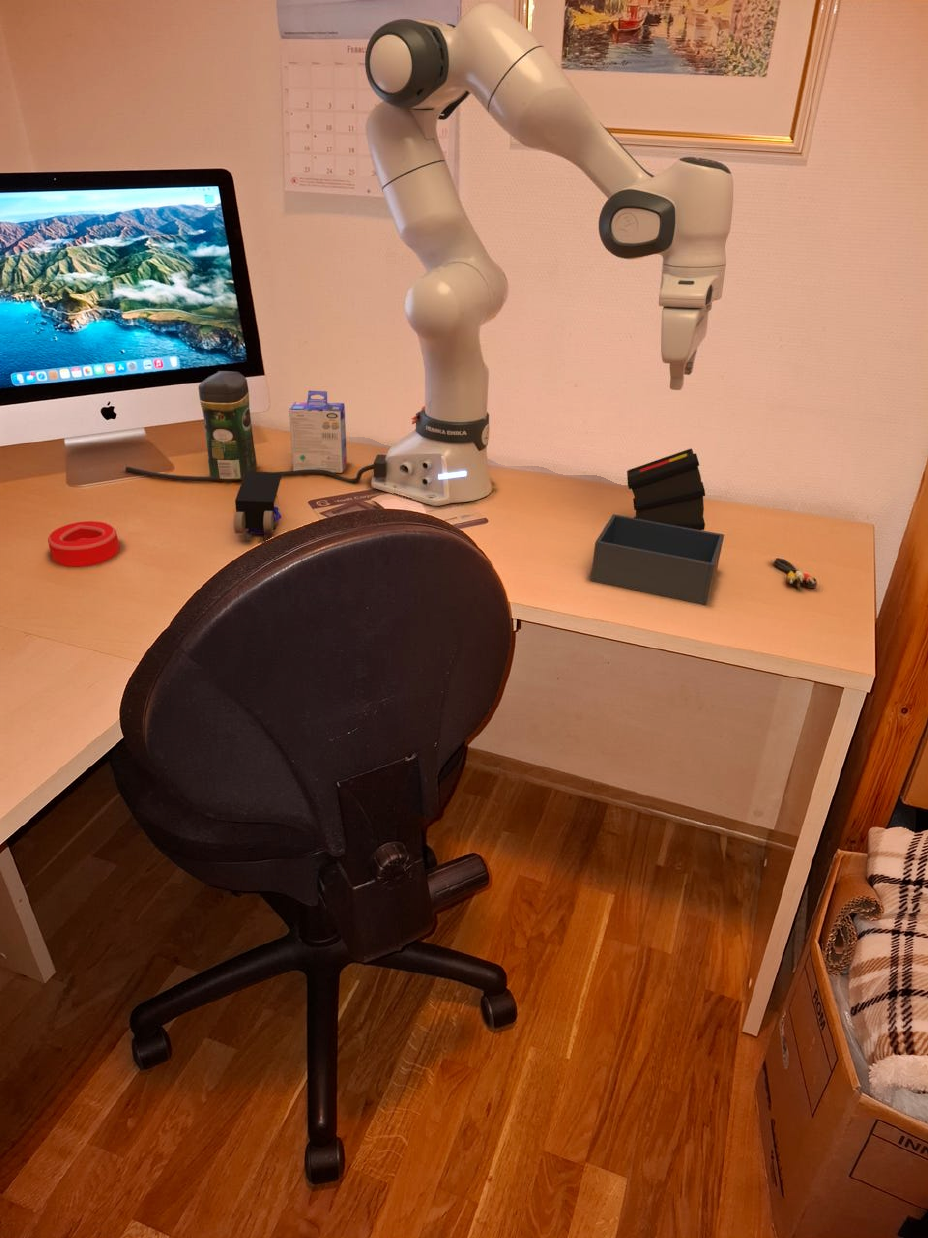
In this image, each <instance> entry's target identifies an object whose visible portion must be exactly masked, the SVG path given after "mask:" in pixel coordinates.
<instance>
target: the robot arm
mask: <svg viewBox="0 0 928 1238" xmlns="http://www.w3.org/2000/svg"><path fill="white" fill-rule="evenodd" d="M364 67H365V75H366V78H367V81H368V83H369V85H370V87H371V89H372V90H373V92H374V93H375V94H376V96H378V98H379V99H381V102H379V103H378V104H377V105H376V106H375V107H374V108H372V110H371V111H370V113H369V114H368V116H367V118H366V122H365V135H366V140H367V145H368V149H369V153H370V157H371V162H372V165H373V168H374V171H375V175H376V178H377V181H378V183H379V187H380V190H381V192H382V194H383V197H384V200H385V202H386V204H387V208H388V210H389V212H390V216H391V217H392V220H393V223H394V225H395V228H396V230H397V231H396V232H397V233H398V237H399V238H400V240H401V241H402V242H403V244H404V245H405V246H407V247H408V248H409V249H411V251H412V252H413V253H414V254H415V255H416V257H417V258H418V260H419V261H420V262H421V264H422V265H423V267H424V269H425V270H426V272H425V273H422V274H421V275H420V277H419V278H417V279H416V281H415V282H414V283H413V284H412V285H411V286H410V287H409V289H408V291H407V293H406V296H405V300H404V312H405V317H406V320H407V322H408V324H409V326H410V328H411V329H412V330H413V331H414V332H415V333H416V335H417V338H418V342H419V346H420V347H419V348H420V352H421V356H422V360H423V367H424V369H423V370H424V406H422V407H421V409H420V411H418V412H416V413H415V415H414V416H412V418H411V420H412V421H411V425H414V424H415V429H414V430H412V431H411V432H410V433H408V434H406V435H405V436H403V437H402V438H401V439H399V440H398V441H397V442H395V443H394V444H393V445H392V446H391V447H390V448H389V449H388V451H387V452H386V454H376V456H375V458H374V461H373V463H372V464H370V465H366V466H364V467H362V468H360V469H359V470H358V472H357V473H356V477H353V478H346V477H344V476H341V475H339V474H337V473H336V472H330V471H326V470H318V469H308V470H295V471H293V470H287V471H286V470H285V471H284V470H283V471H276V472H277V473H282V477H287V476H298V475H299V476H300V475H324V476H329V477H331V478H333V479H336V480H338V481H341V482H345V483H349V484H356V483H358V482H360V480H361V479H362V476H363V474H364V473H366V472H368V471H371V470H373V475H372V477H371V479H370V486H371V488H373V489H376V490H379V491H383V492H386V493H389V494H392V495H395V494H394V493H399V494H404V495H406V496H409V497H411V498H412V499H411V500H413V501H417V502H420V503H423V504H427V505H430V506H433V507H439V506H444V505H449V504H454V503H466V502H474V501H477V500H481V499H483V498H485V497H487V496H489V495H490V494H491V493H492V491H493V485H492V480H491V475H490V470H489V461H488V445H489V440H490V430H491V429H490V428H491V427H490V413H489V412H488V405H489V403H488V402H489V383H490V370H489V367H488V364H487V363H486V362H485V360H484V356H483V352H482V345H481V339H480V338H481V337H480V331H481V327H482V326H484V325H486V324H488V323H490V322H491V321H492V320H494V319H495V318H496V317H497V316H498V314H499V313H500V312H501V310H502V309H503V308H504V306H505V304H506V303H507V300H508V297H509V289H510V287H509V281H508V277H507V275H506V274H505V272H504V270H503V269H502V267H501V266H499V264H498V263H496V262H495V260H493V259H492V257H491V256H490V254H489V252H488V251H487V249H486V247H485V245H484V244H483V242H482V240H481V238H480V237H479V235H478V234H477V232H476V230H475V228H474V227H473V224H472V222H471V221H470V220H469V217H468V215H467V213H466V211H465V209H464V206H463V203H462V201H461V198H460V195H459V193H458V191H457V187H456V185H455V182H454V179H453V177H452V174H451V171H450V168H449V166H448V163H447V160H446V157H445V154H444V152H443V149H442V146H441V144H440V140H439V138H438V132H437V124H438V120H440V121H441V120H442V121H445V120H447V119H449V117H450V116H451V115H452V114H453V112H454V111H455V110H457V108H458V107H459V106H460V105H461V104H462V103H463V102H464V101H465V100H466V99H468V97H469V96H470V95H472V96H473V97H474V98H475V99H476V100H477V101H478V102H479V104H481V105H482V107H483V108H484V109H485V111H486V112H487V113H488V115H490V117H491V118H492V119H493V120H494V121H495V122H496V124H497V125H498V126H499V127H501V129H502V130H504V131H505V132H506V133H507V134H508V135H509V136H510V137H512V138H513V139H515V140H516V141H517V142H519V143H520V144H521V145H523V146H525V147H527V148H530V149H534V150H536V151H537V150H538V151H542V152H546V153H549V154H552V155H555V156H558V157H561V158H562V159H564V160H567V161H569V162H570V163H572V164H573V165H574V166H576V167H577V168H578V169H579V170H580V171H581V172H582V173H584V175H585V176H586V177H587V178H588V179H589V180H590V181H591V182H592V183H593V184H594V185H595V186H596V187H597V188H598V189H599V191H600V192H601V193H602V194H603V195H604V196H605V197H606V198H607V200H606V201H605V203H604V204H603V207H602V208H601V210H600V214H599V218H598V233H599V237H600V240H601V242H602V245H603V246H604V247H605V249H606V250H607V251H608V252H609V253H610V254H612V255H613V256H614V257H617V258H620V259H623V260H632V261H633V260H640V259H643V258H645V257H649V256H653V255H660V256H661V257H662V264H661V265H662V266H661V276H660V287H659V293H658V306H659V307H662V309H661V310H662V311H661V328H660V329H661V330H660V338H661V339H660V354H661V355H660V356H661V360H662V363H664V364H668V365H669V367H668V368H669V380H670V381H669V389H670V390H673V391H681V390H682V389H683V387H684V382H685V375H686V376H691V374H692V373H693V371H694V367H695V360H696V356H697V352H698V348H699V346H700V345H701V344H702V342H703V341H704V340H705V337H706V334H707V330H708V323H709V312H710V311H712V307H713V302H715V301H718V300H720V299H721V300H722V297H723V292H724V291H723V290H724V281H725V275H726V274H725V273H726V265H727V255H726V245H727V244H726V243H727V240H728V237H729V234H730V232H731V226H732V217H733V208H734V207H733V205H734V178H733V175H732V172H731V171H730V169H729V168H728V167H727V166H726V165H725V164H724V163H722V162H719V161H716V160H713V159H707V158H702V157H695V156H684V157H680V158H679V159H677V160H676V161H675V162H674V163H673V164H672V165H671V166H669V167H667V168H666V169H665V170H663V171H661V172H660V173H658V174H656V175H653V174H652V173H650V172H649V171H647V170H646V169H645V168H644V167H643V166H641V164H639V162H638V161H637V160H636V159H635V158H634V156H632V155H631V154H630V153H629V151H628V150H627V149H626V148H625V147H624V146H623V145H622V144H621V143H620V141H618V139H617V138H616V137H615V136H614V135H613V134H612V133H611V132H610V131H609V130H608V129H607V128H606V127H605V126H604V124H603V123H602V122H601V121H600V120H599V119H598V118H597V115H595V113H594V112H593V111H592V109H591V108H590V106H589V105H588V104H587V102H586V101H585V100H584V98H583V97H582V96H581V95H580V93H579V91H578V90H577V89H576V87H575V86H574V84H573V83H572V81H571V79H570V78H569V77H568V76H567V74H566V73H565V72H564V70H563V69H562V68H561V65H559V63H558V62H557V61H556V59H555V58H554V57H553V56H552V55H551V53H550V52H549V51H548V49H546V47H545V46H544V45H543V44H542V43H541V42H540V41H539V39H538V38H537V37H536V36H535V35H534V34H533V32H531V31H530V30H529V29H528V28H527V27H526V26H525V25H524V24H522V22H520V21H519V20H518V18H515V16H513V15H512V14H511V13H510V12H508V11H507V10H506V9H505V8H503V7H501V6H500V5H498V4H497V3H494V2H489V1H488V2H482V3H479V4H477V5H475V6H473V7H472V8H470V9H469V10H468V11H467V12H466V13H465V14H464V15H463V16H462V17H461V19H460V20H459V21H458V23H457V24H456V25H455V24H452V23H445V22H441V21H438V20H434V19H429V18H423V19H409V18H399V19H395V20H392V21H388V22H386V23H384V24H383V25H381V26H379V28H378V29H376V30H375V31H374V33H373V34H372V35H371V37H370V38H369V41H368V43H367V46H366V50H365V55H364ZM125 471H126V472H130V473H133V474H134V473H135V474H139V475H143V476H148V477H152V478H153V477H154V478H159V479H167V480H177V481H188V482H189V481H190V482H191V481H192V482H193V481H194V482H222V481H221V480H220V479H219V478H217V477H215V476H207V475H206V476H205V475H204V476H203V475H202V476H201V475H198V476H197V475H179V474H169V473H161V472H154V471H149V470H145V469H140V468H136V467H130V466H125Z"/></svg>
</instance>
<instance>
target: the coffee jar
mask: <svg viewBox="0 0 928 1238" xmlns="http://www.w3.org/2000/svg"><path fill="white" fill-rule="evenodd" d="M248 384H249V383H248V379H247V378H246V377H245V376H244V375H243V374H242V373H241V372H239V371H230V370H228V371H227V370H218V371H217V372H216V373H213V374H212V375H209V376H208V377H207V378H205V379H204V380H202V381H201V383H199V384H198V393H199V394H198V395H199V396H198V397H199V403H200V407H201V411H202V416H203V425H204V432H205V441H206V449H207V450H206V451H207V459H208V460H207V463H208V472H209V475H210V476H215V477H217V478H219V479H220V480H221V481H220V482H228V483H229V482H230V483H232V482H237V481H242V480H243V477H244V475H245V472H246V471H253V472H255V470H256V468H257V456H256V455H257V454H256V448H255V441H254V433H253V425H252V420H251V419H252V418H251V417H252V416H251V409H250V392H249V391H250V390H249V385H248Z"/></svg>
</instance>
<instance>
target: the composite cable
mask: <svg viewBox="0 0 928 1238" xmlns="http://www.w3.org/2000/svg"><path fill="white" fill-rule="evenodd" d="M773 565H775V566H776V567H777V568H779V569H781V570H782V571H784V572H786V573H787V576H786V580H787V582H788V583H789V584H792V586H794V587H795V588H797V589H800V588H801V586H802V587H804V588H806V589H814V588H816V587H817V586H818V584H817V583H818V581H817V579H816V578H815V577H813V576H812V575H810V574H808V573H803V572H802V571H800V570H798V569H796V567H795V566H794V565H793V564H792V563H791V562H790V561H788V560H786V559H783V558H778V557H777V558H775V560H774V562H773Z"/></svg>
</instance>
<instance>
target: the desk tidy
mask: <svg viewBox="0 0 928 1238" xmlns="http://www.w3.org/2000/svg"><path fill="white" fill-rule="evenodd" d="M724 538H725V533H719V532H712V531H707V530H697V529H691V528H686V527H681V526H675V525H670V524H664V523H659V522H653V521H648V520H642V519H637V518H633V517H632V516H626V515H620V514H614V513H613V514H612V515H611V516H610V517H609V519H608V521H607V523H606V525H605V526H604V527H603V529H602V531H601V532H600V534H599V536H598V537H597V539H596V540H595V542H594V550H593V558H592V564H591V565H592V566H591V575H590V582H593V583H594V582H595V583H600V584H604V585H609V586H614V587H619V588H623V589H627V590H633V591H638V592H641V593H647V594H652V595H656V596H661V597H667V598H671V599H676V600H681V601H686V602H689V603H694V604H699V605H704V606H707V604H708V601H709V598H710V594H711V592H712V588H713V584H714V582H715V578H716V575H717V571H718V566H719V562H720V558H721V553H722V548H723V543H724Z"/></svg>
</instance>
